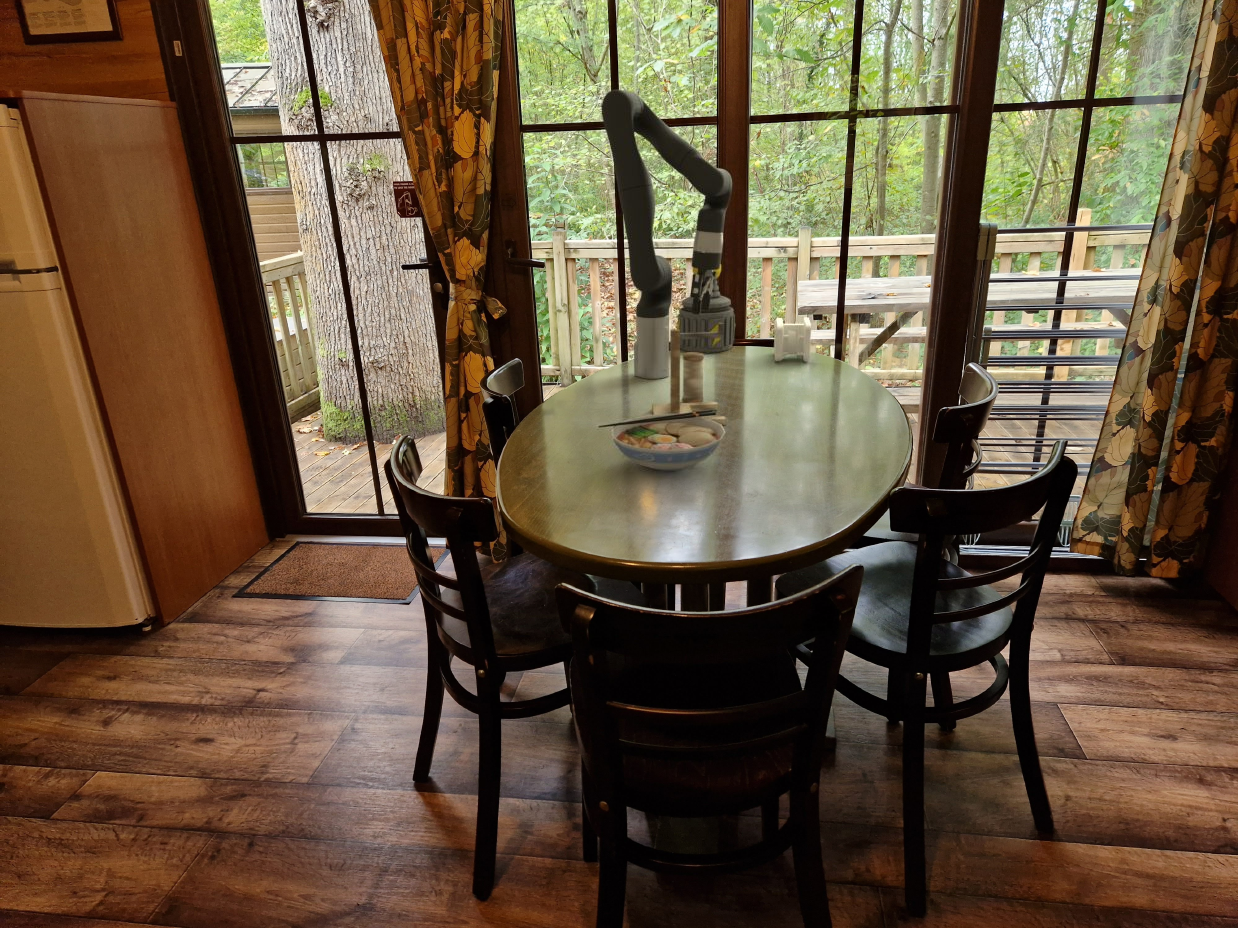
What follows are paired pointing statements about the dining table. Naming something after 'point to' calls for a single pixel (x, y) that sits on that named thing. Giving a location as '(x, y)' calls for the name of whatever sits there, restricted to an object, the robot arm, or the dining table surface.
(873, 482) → the dining table surface
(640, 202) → the robot arm
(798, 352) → the cable organizer
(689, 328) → the decorative lamp
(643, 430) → the ramen bowl
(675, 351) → the hook stand
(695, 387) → the cord spool
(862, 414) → the dining table surface
